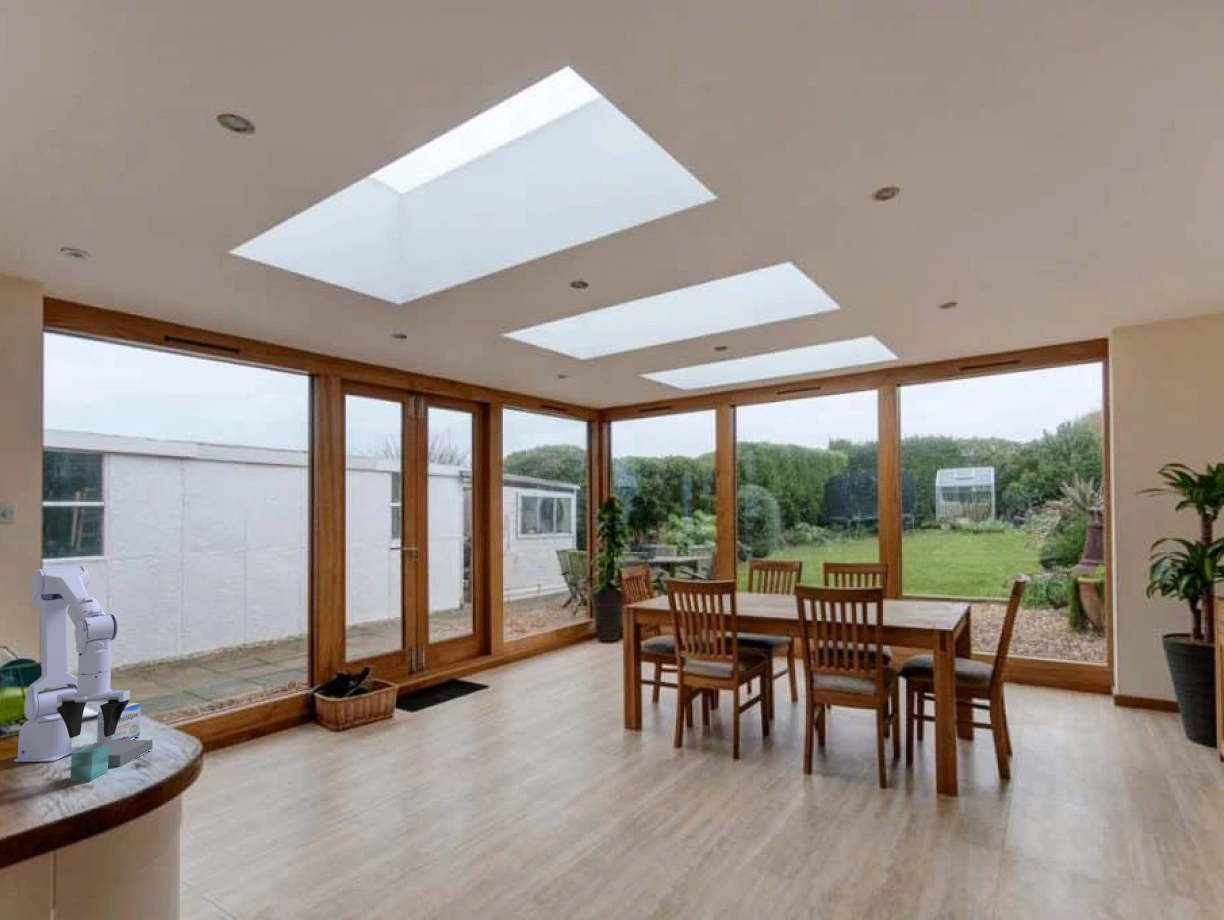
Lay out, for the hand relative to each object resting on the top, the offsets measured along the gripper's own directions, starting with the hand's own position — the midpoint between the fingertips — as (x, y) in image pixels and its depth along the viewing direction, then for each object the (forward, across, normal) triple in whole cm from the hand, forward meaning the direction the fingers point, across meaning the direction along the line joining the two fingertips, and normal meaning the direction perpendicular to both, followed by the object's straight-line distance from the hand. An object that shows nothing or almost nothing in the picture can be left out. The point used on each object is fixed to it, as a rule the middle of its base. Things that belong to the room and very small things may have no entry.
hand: (92, 735), depth 142 cm
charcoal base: (+8, -3, +11) cm, 14 cm away
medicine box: (+8, -11, +22) cm, 26 cm away
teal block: (+9, 0, 0) cm, 9 cm away
